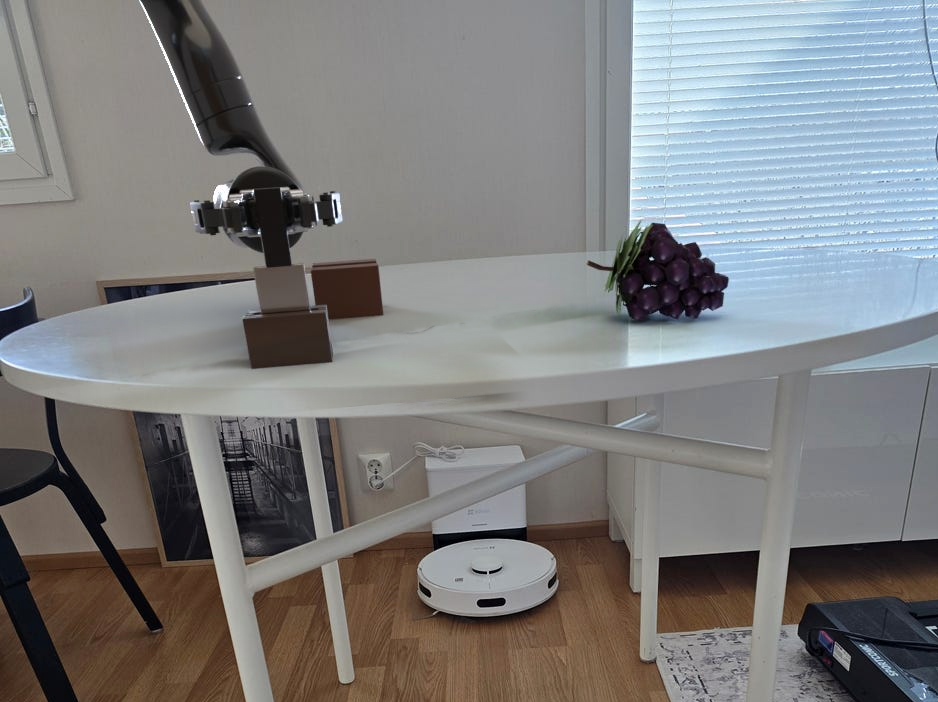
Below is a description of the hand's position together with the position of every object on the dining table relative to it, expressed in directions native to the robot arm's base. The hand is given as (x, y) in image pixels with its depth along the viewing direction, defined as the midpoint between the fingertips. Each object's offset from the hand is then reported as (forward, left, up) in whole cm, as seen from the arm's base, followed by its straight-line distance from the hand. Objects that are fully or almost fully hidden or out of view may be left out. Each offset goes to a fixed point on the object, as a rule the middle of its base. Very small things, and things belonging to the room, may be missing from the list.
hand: (271, 215), depth 71 cm
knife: (+1, +2, -12) cm, 12 cm away
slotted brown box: (+15, +18, -13) cm, 27 cm away
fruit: (+40, -5, -13) cm, 42 cm away
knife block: (+1, +2, -13) cm, 13 cm away
